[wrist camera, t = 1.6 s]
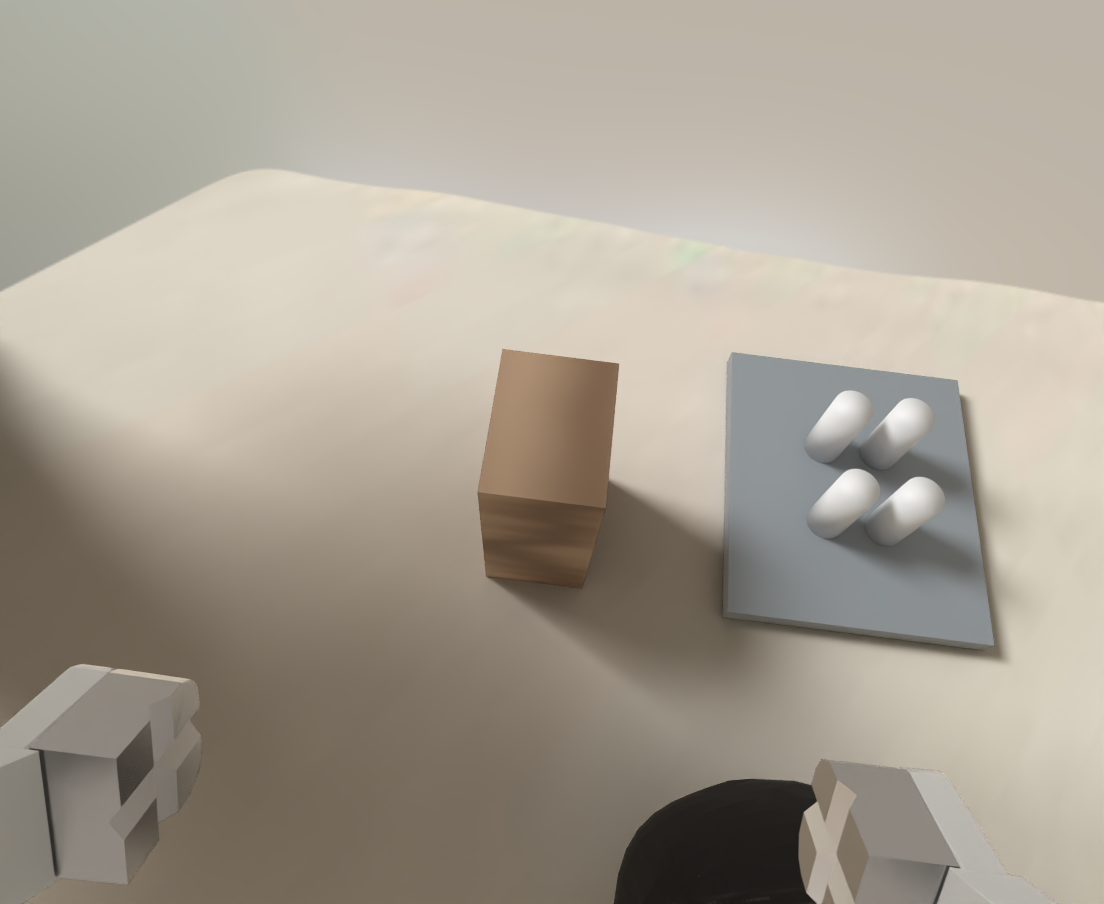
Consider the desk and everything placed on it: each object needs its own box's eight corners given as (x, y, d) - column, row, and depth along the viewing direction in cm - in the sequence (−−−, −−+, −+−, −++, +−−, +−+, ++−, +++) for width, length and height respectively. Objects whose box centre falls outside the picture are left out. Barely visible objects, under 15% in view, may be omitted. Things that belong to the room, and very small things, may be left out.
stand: (722, 617, 35) (753, 586, 31) (727, 362, 41) (753, 306, 37) (982, 650, 35) (1050, 624, 31) (947, 390, 41) (1000, 337, 37)
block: (486, 576, 36) (477, 491, 27) (504, 460, 38) (502, 349, 29) (582, 588, 36) (605, 508, 27) (594, 472, 38) (619, 363, 29)
